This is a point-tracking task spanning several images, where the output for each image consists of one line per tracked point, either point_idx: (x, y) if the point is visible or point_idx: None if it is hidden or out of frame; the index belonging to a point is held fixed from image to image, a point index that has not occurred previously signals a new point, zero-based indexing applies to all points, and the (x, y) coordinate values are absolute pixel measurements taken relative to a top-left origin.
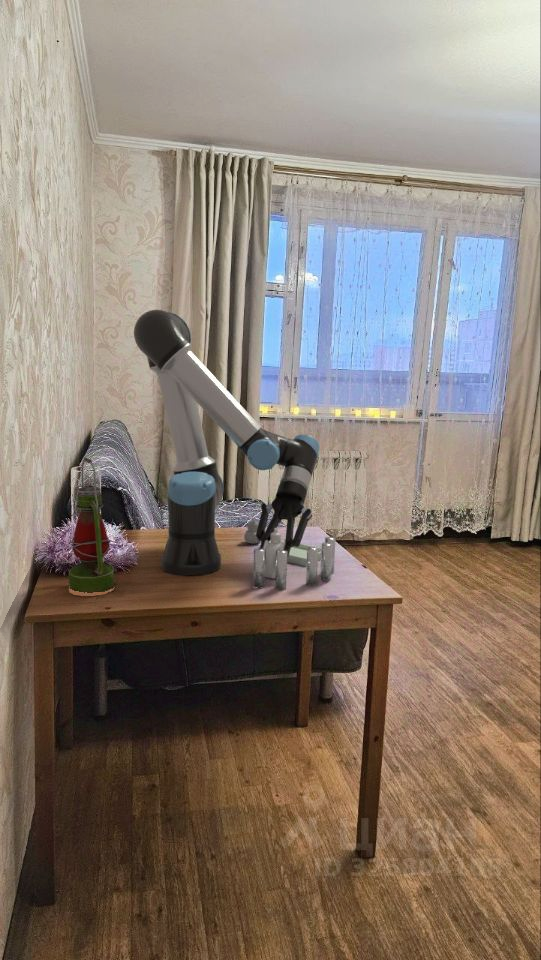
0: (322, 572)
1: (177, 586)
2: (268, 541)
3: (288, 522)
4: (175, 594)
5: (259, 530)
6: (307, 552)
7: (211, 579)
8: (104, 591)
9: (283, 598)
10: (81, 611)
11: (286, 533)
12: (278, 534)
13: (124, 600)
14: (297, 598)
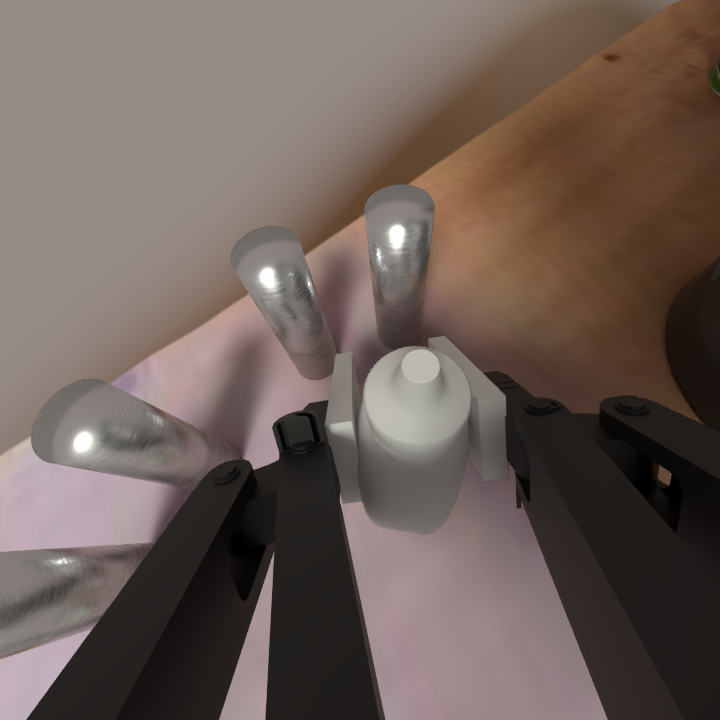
0: (150, 543)
1: (623, 197)
2: (476, 405)
3: (340, 680)
4: (567, 161)
5: (677, 432)
6: (134, 400)
7: (597, 295)
8: (717, 73)
9: None
10: (634, 31)
11: (330, 495)
12: (373, 375)
13: (629, 87)
14: (230, 315)
